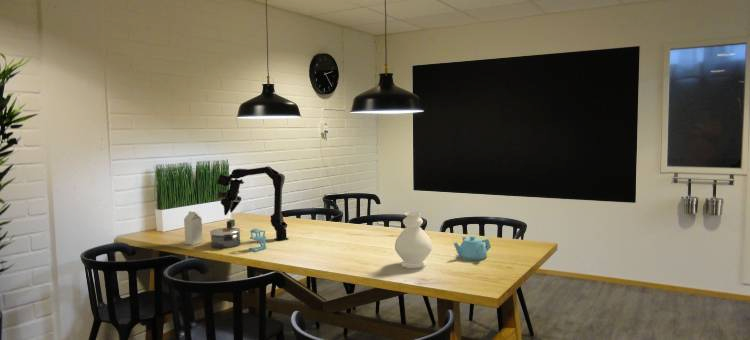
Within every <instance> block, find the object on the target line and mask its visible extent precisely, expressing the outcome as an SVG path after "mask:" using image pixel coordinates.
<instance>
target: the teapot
mask: <svg viewBox="0 0 750 340" xmlns="http://www.w3.org/2000/svg"><path fill="white" fill-rule="evenodd" d="M453 245H454V248H455V250H456V253H457V254H458V256H459V257H460V258H461V259H462V260H466V261H481V260H483V259H485V258H486V257H487V256H488V255H487V252H488V251H490V249H491V244H490V240H489V238H488V237H485V238H482V239H481V238H478V237H476V236H475V235H469V237H467V236H462V242H461V243H460V245H459V244H458V242H454V243H453Z"/></svg>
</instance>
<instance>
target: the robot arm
mask: <svg viewBox="0 0 750 340" xmlns="http://www.w3.org/2000/svg"><path fill="white" fill-rule="evenodd" d="M262 174H265V175H267V176H268V178H269V179H271V180H272V185H273V188H274V196H273V197H274V200H273V201H274V203H273V205H274V206H273V214H271V215H270V223H271V226H272V228H274V230H275V238H274V240H275V241H279V242H281V241H286V240H289V239H290V238H289V237H287V227H288V224H287V222H285V221H284V215H283V212H282V203H283V200H282V199H283V187H284V184H285V179H286V177H285V174H284V173H280V172H278V171H277V170H275V169H274V168H272V167H271V166H268V165H267V166H263V167H254V168H235V169H233V170H232V171H231V174H229V175H227V174H223V173H221V174H219V176H218V178H217V181H216V184H217V186H222V187H225V188H228V187H229V188H228V189H227V190H220V191H218V192H217V197H218V198H219V199H221V198H222V199H221V200H220V205H222V206H223V213H224V216H227V215H228V213H229V212H230V213H233V212H234V210H235V209H236V208H237V207H238V206H239V204H240V202H242V197H241V196H239V194H240V186H241V185H243V184H245V181H244V180H243V179H241V178H245V177H247V176H254V175H262Z"/></svg>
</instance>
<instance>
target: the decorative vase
mask: <svg viewBox="0 0 750 340" xmlns="http://www.w3.org/2000/svg"><path fill="white" fill-rule="evenodd" d="M421 215H422V213H421V212H418V211H408V212H405V213H404V216H406V217H404V218H403V220H402V224H403V225H404V226H405V228H404V229H403V230H402V231H401V232H400V233H399V235H398V236H397V238H396V239H395V243H394V250H395V252H396V253H397V255H398V256H399V258H401V260H402V261H401V262H400V267H403V268H408V269H420V268H424V267H426V266H428V263H427V261H425V260H426V259H427V258H428V256H429V255H430V253H431V252H432V250H433V243H432V239H431V238H430V237H429V235H428V234H427V233H426V232H425V231H424V229H423V228H422V227H421V226H422V225H423V223H424V221H423V219H422V218H421Z"/></svg>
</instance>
